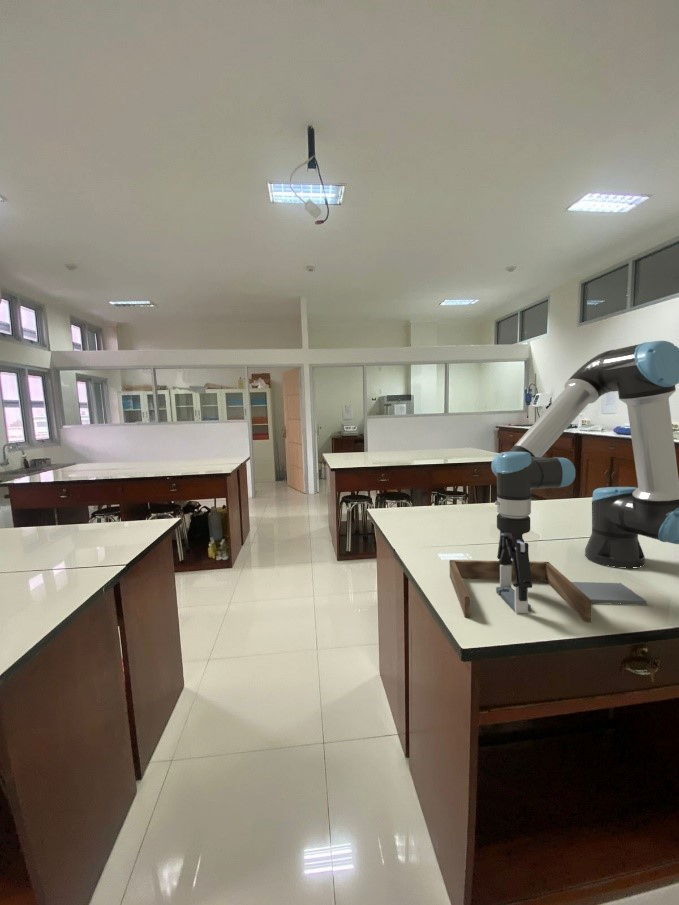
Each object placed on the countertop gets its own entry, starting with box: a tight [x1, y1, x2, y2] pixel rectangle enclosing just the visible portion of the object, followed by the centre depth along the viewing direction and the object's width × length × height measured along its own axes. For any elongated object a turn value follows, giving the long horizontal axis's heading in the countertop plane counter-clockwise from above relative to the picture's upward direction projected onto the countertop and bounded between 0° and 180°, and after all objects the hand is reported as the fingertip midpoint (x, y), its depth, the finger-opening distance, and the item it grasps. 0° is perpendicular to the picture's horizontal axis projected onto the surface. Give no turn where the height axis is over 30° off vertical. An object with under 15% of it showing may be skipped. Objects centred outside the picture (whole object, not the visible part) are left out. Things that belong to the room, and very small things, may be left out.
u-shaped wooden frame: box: [449, 559, 593, 623], centre depth 95 cm, size 27×23×5 cm
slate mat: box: [571, 581, 647, 605], centre depth 94 cm, size 14×10×1 cm
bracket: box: [495, 586, 532, 613], centre depth 93 cm, size 4×10×2 cm, turn 1°
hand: (512, 599), depth 93 cm, fingers open, 11 cm apart
